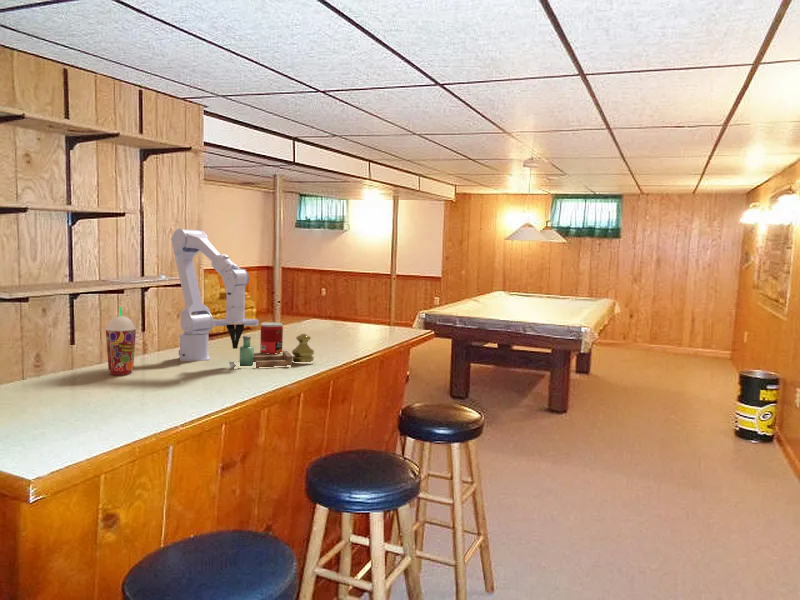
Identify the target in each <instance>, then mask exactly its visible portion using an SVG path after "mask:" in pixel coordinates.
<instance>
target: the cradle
mask: <svg viewBox="0 0 800 600" xmlns="http://www.w3.org/2000/svg"><path fill="white" fill-rule="evenodd" d="M234 362H235V361H228V363H229V365H230V369H231V370H232V369H234V367H235V366H236V365H235V364H234ZM253 362H256V368H259V367H274V366H287V365H292V366H293V363H292V354H291V353H290V352H289V351H288V350H282V354H281V355H280V354H273V355H254V358H253Z"/></svg>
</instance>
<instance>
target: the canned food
mask: <svg viewBox="0 0 800 600" xmlns="http://www.w3.org/2000/svg"><path fill="white" fill-rule="evenodd" d="M283 333H284V325H283V323H281V322H274V321H273V322H272V321H271V322H270V321H269V322H268V321H267V322H262V323H260V347H259V348H260V350H259V351H260V354H262V353H269V354H268V355H270V354H273V355H276V354H275V353H280V352H282V353H283V342H284V341H283V337H284V335H283Z"/></svg>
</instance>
